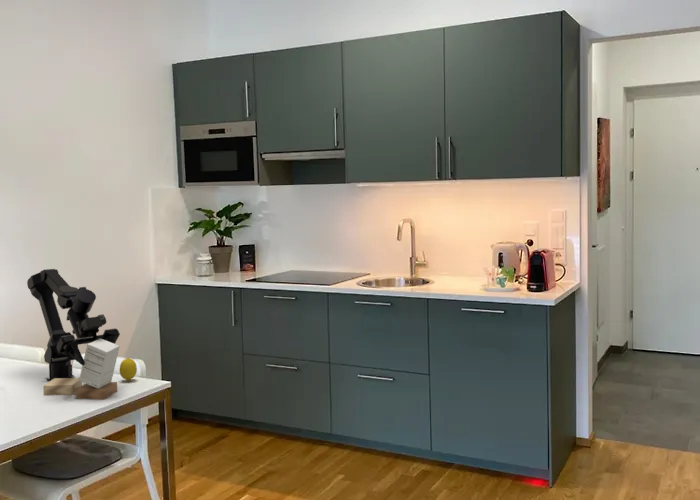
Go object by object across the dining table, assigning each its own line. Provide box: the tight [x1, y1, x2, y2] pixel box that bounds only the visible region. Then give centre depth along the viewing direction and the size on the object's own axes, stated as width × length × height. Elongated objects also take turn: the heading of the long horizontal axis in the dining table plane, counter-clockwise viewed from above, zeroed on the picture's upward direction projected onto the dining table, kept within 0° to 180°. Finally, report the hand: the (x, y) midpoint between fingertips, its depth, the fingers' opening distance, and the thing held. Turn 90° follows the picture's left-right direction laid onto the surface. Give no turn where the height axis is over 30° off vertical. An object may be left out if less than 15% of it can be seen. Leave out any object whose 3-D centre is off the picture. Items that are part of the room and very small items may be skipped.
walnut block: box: [75, 381, 118, 400], centre depth 224 cm, size 9×9×3 cm
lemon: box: [119, 357, 138, 382], centre depth 240 cm, size 6×6×8 cm
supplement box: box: [79, 339, 120, 389], centre depth 223 cm, size 7×7×13 cm
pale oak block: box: [43, 377, 83, 396], centre depth 229 cm, size 9×9×3 cm
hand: (98, 362), depth 222 cm, fingers closed on supplement box, 9 cm apart
